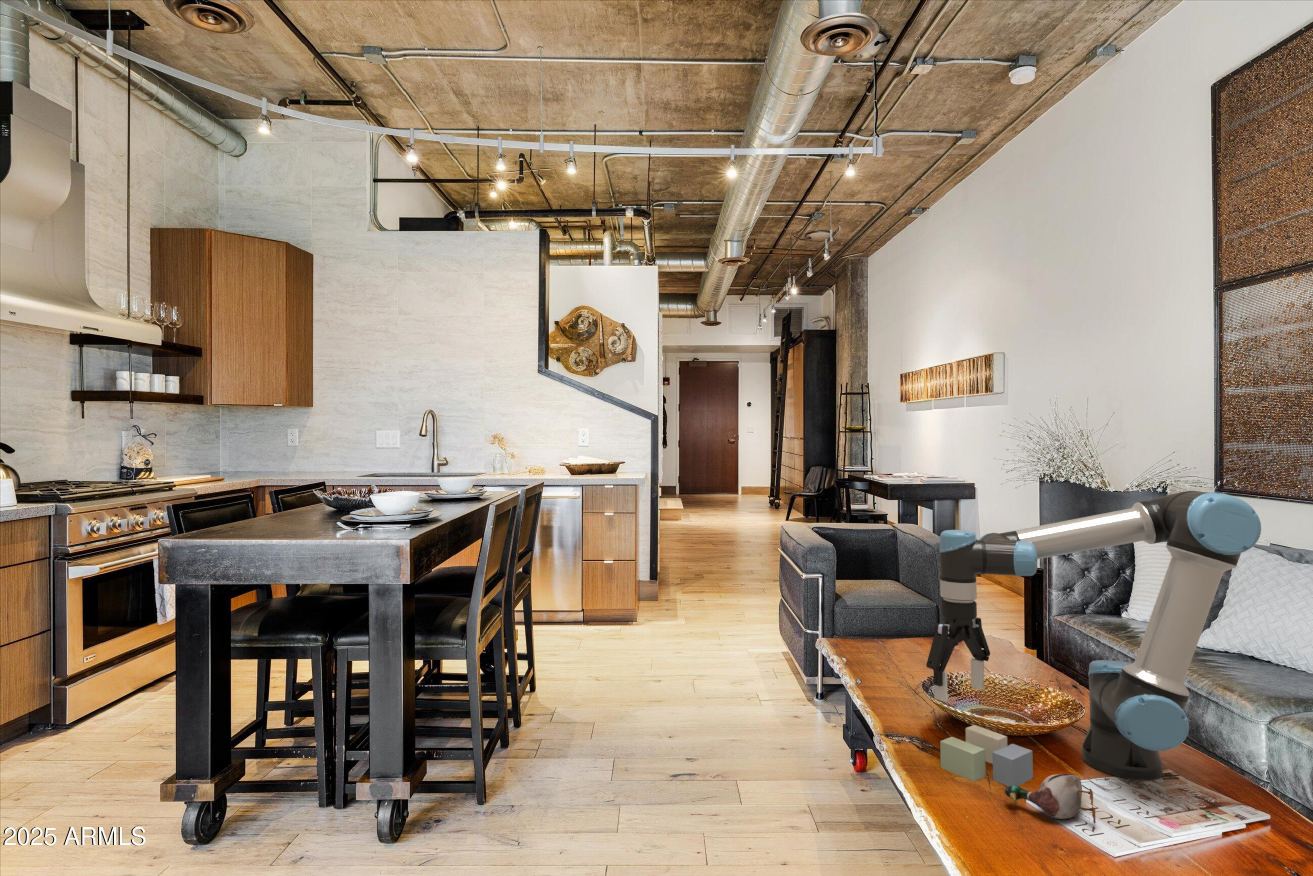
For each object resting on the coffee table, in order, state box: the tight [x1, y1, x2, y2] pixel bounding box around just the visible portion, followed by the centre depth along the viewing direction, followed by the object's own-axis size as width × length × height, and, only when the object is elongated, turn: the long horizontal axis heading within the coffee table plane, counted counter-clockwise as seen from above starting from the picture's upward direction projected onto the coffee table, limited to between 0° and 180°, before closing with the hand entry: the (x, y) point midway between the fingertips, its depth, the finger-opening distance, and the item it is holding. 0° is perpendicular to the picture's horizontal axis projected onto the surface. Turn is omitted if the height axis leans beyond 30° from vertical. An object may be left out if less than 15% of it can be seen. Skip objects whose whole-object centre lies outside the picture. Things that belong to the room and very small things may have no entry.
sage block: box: [939, 736, 987, 783], centre depth 149 cm, size 8×4×6 cm, turn 33°
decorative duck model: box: [1004, 773, 1096, 824], centre depth 134 cm, size 15×8×15 cm
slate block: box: [992, 743, 1034, 787], centre depth 146 cm, size 8×4×6 cm, turn 123°
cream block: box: [965, 724, 1008, 765], centre depth 156 cm, size 8×4×6 cm, turn 33°
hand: (959, 694), depth 151 cm, fingers open, 13 cm apart
